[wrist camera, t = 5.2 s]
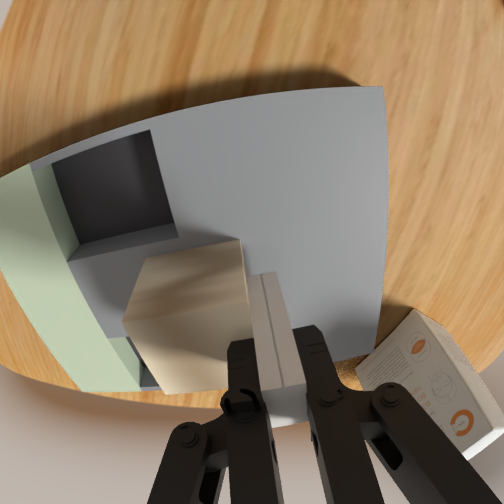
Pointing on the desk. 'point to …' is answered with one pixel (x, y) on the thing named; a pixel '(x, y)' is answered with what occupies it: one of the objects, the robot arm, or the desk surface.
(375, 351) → the small box
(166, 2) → the desk surface
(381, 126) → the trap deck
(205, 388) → the maple block
